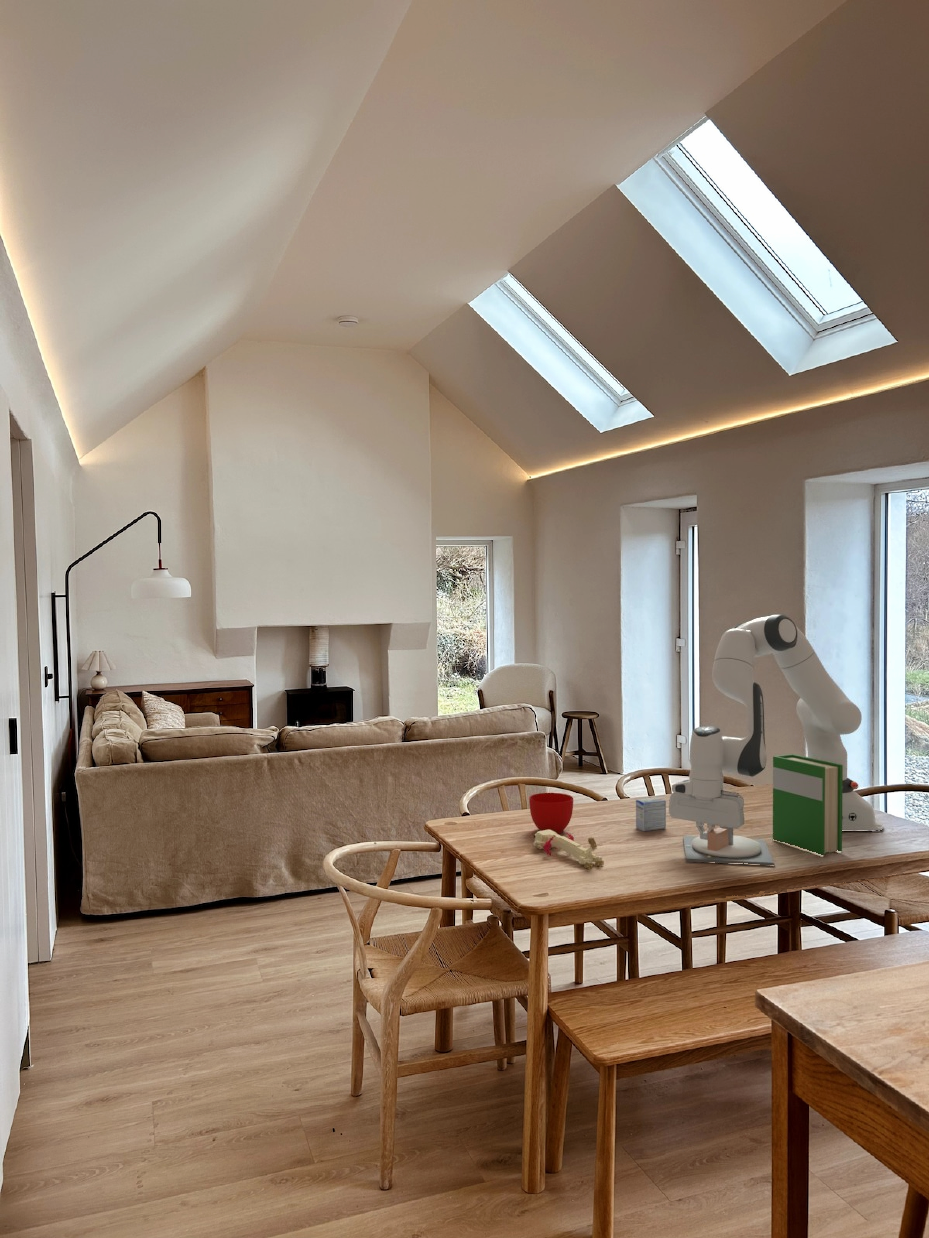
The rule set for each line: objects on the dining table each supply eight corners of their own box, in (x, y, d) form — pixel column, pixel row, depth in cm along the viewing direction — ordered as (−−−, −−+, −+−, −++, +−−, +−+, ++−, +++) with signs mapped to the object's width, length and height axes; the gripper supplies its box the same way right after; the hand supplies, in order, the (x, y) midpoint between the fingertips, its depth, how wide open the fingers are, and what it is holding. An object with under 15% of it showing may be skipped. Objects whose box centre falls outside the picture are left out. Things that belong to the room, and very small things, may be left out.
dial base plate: (763, 842, 256) (763, 838, 256) (774, 866, 235) (774, 861, 235) (683, 838, 261) (683, 834, 261) (686, 862, 239) (686, 857, 239)
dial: (710, 834, 260) (710, 813, 260) (772, 846, 248) (772, 824, 248) (680, 848, 247) (680, 826, 247) (743, 861, 235) (743, 838, 235)
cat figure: (609, 869, 238) (551, 839, 259) (611, 837, 237) (552, 809, 258) (579, 876, 233) (522, 845, 254) (581, 843, 232) (524, 814, 253)
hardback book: (841, 853, 246) (842, 764, 245) (821, 857, 243) (822, 767, 242) (792, 837, 262) (792, 753, 261) (772, 840, 258) (773, 756, 258)
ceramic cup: (572, 822, 280) (572, 789, 280) (573, 837, 263) (573, 803, 263) (530, 821, 281) (530, 789, 281) (528, 836, 264) (528, 802, 264)
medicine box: (657, 825, 276) (657, 796, 275) (666, 828, 272) (666, 799, 271) (635, 828, 273) (635, 799, 272) (643, 831, 269) (643, 802, 268)
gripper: (748, 791, 240) (748, 843, 241) (676, 780, 253) (676, 830, 254) (739, 795, 235) (738, 848, 236) (666, 784, 248) (665, 835, 249)
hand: (705, 839), depth 245 cm, fingers closed
